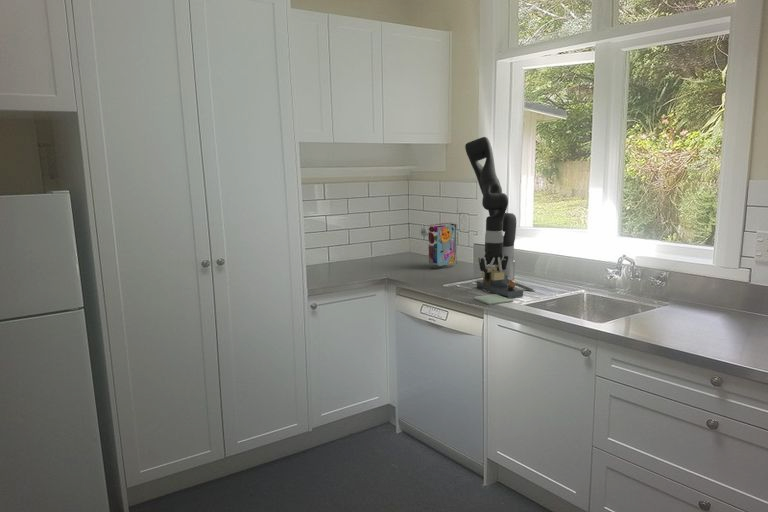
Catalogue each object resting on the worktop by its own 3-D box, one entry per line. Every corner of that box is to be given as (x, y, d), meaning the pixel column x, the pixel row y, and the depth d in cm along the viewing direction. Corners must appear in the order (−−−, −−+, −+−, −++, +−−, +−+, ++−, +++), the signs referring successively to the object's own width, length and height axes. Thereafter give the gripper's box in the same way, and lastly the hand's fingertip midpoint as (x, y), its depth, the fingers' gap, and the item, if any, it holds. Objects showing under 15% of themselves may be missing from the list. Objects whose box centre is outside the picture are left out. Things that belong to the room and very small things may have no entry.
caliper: (495, 285, 265) (496, 272, 264) (496, 285, 266) (497, 272, 265) (534, 292, 251) (535, 278, 250) (536, 291, 252) (536, 278, 251)
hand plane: (490, 285, 264) (491, 269, 262) (523, 296, 242) (523, 278, 241) (476, 287, 261) (477, 270, 259) (507, 298, 239) (508, 280, 238)
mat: (496, 295, 245) (496, 294, 245) (513, 301, 234) (513, 300, 234) (473, 298, 240) (473, 297, 240) (489, 304, 229) (489, 303, 229)
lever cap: (491, 275, 241) (492, 265, 240) (504, 279, 232) (504, 269, 232) (482, 276, 239) (482, 266, 238) (494, 280, 230) (494, 270, 230)
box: (424, 272, 296) (424, 226, 292) (416, 270, 301) (416, 225, 297) (457, 266, 311) (457, 223, 307) (449, 264, 316) (449, 222, 312)
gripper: (502, 238, 239) (501, 277, 242) (474, 240, 233) (473, 280, 236) (513, 241, 232) (512, 280, 235) (484, 243, 227) (483, 284, 229)
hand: (492, 280), depth 236 cm, fingers closed on lever cap, 5 cm apart
